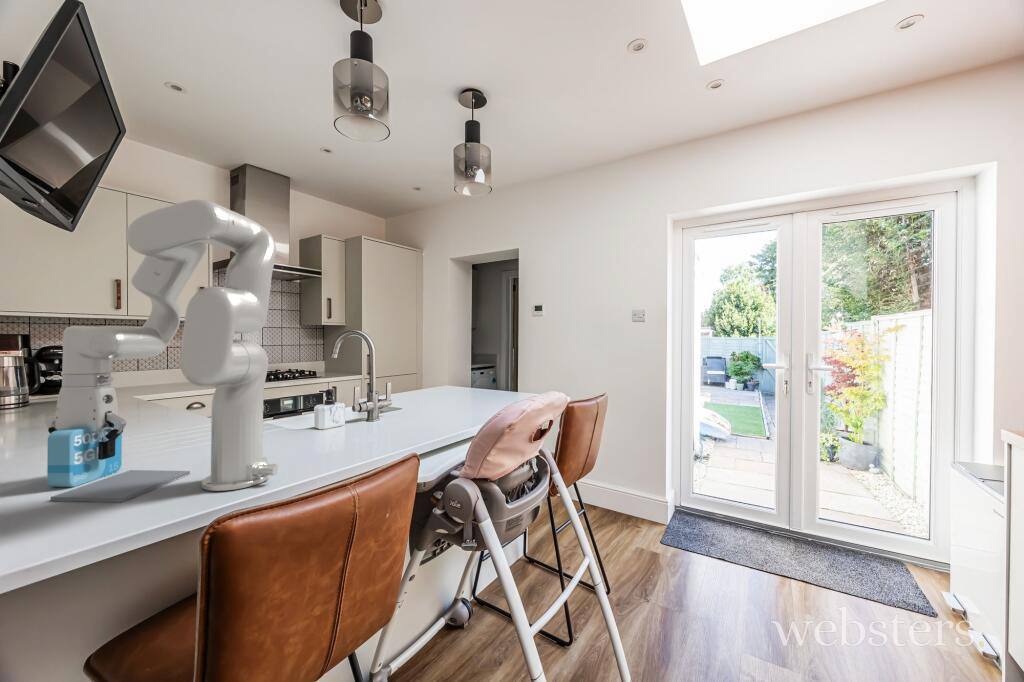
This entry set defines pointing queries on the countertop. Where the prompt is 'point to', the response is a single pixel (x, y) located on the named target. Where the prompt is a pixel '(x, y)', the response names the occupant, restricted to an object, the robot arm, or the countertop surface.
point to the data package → (78, 458)
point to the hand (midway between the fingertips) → (85, 457)
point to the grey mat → (121, 486)
